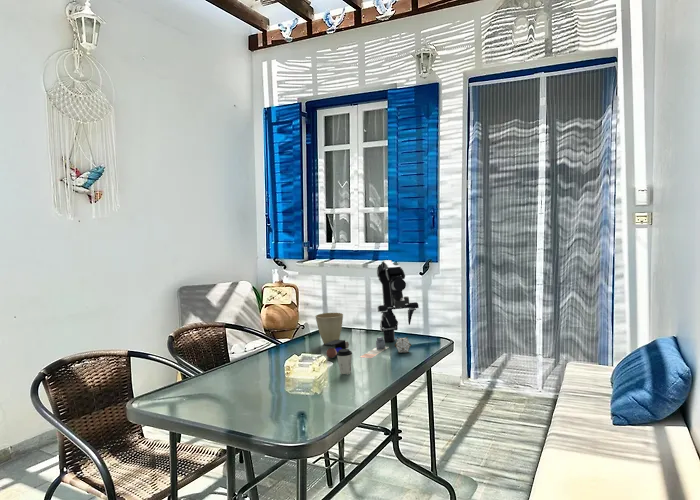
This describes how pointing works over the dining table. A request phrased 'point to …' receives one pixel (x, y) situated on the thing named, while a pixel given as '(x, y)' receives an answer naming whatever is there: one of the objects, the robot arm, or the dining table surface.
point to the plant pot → (329, 326)
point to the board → (373, 353)
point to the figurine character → (338, 345)
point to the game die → (402, 345)
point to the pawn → (380, 343)
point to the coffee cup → (344, 360)
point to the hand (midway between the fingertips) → (399, 325)
